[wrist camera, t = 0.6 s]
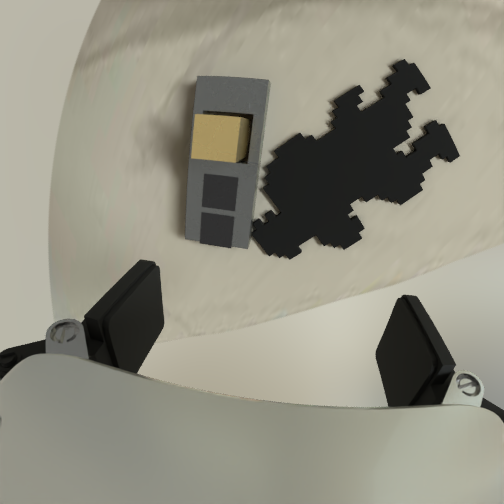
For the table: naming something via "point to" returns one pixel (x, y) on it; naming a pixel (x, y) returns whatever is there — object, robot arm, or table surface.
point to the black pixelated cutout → (349, 168)
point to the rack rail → (226, 166)
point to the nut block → (220, 138)
